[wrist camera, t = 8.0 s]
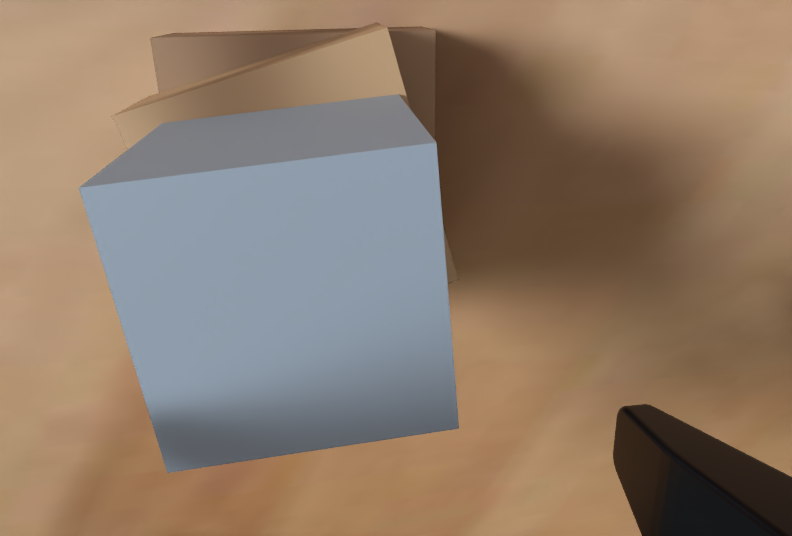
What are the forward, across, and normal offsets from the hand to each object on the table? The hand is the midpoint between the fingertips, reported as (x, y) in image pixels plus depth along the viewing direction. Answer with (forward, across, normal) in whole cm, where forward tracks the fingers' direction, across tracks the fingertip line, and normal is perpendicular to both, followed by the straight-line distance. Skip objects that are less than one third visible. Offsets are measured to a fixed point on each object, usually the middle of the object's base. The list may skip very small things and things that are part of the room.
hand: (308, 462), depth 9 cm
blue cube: (+7, 0, -1) cm, 7 cm away
